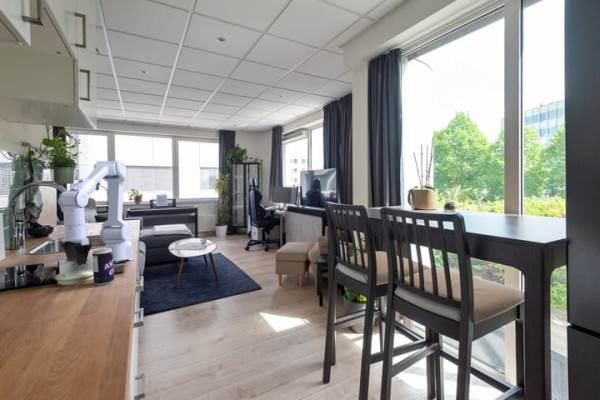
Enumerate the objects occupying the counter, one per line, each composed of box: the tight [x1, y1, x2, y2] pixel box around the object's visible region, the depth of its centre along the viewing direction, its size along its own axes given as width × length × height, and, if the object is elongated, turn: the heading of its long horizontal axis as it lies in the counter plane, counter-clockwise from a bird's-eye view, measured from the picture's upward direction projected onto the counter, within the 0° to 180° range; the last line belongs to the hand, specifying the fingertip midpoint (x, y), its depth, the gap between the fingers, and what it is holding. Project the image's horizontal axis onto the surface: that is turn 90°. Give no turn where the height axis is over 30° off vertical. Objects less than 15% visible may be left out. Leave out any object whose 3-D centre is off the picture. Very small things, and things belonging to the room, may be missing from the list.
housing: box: [58, 256, 93, 277], centre depth 98 cm, size 8×5×5 cm, turn 149°
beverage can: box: [91, 246, 115, 286], centre depth 95 cm, size 6×6×12 cm
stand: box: [54, 271, 94, 286], centre depth 99 cm, size 12×12×2 cm
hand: (77, 262), depth 99 cm, fingers open, 7 cm apart
